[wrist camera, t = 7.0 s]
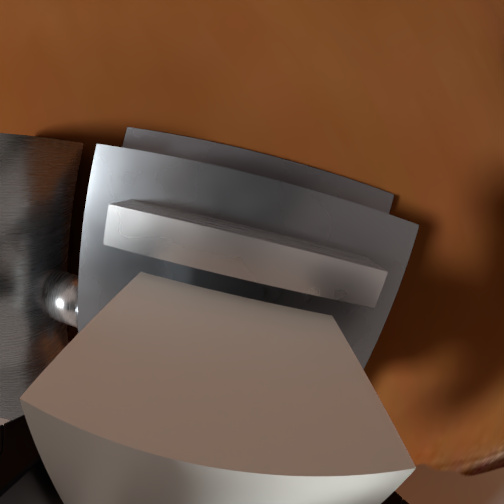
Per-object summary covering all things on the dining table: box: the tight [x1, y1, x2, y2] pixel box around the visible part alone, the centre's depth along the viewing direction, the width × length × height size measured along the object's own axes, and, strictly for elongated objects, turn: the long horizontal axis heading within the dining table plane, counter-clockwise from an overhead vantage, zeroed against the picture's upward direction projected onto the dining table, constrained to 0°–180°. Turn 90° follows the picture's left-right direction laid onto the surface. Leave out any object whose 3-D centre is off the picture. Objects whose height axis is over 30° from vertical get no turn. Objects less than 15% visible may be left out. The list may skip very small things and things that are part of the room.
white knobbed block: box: [19, 272, 416, 504], centre depth 5 cm, size 5×6×6 cm
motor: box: [0, 127, 419, 420], centre depth 10 cm, size 20×14×7 cm
